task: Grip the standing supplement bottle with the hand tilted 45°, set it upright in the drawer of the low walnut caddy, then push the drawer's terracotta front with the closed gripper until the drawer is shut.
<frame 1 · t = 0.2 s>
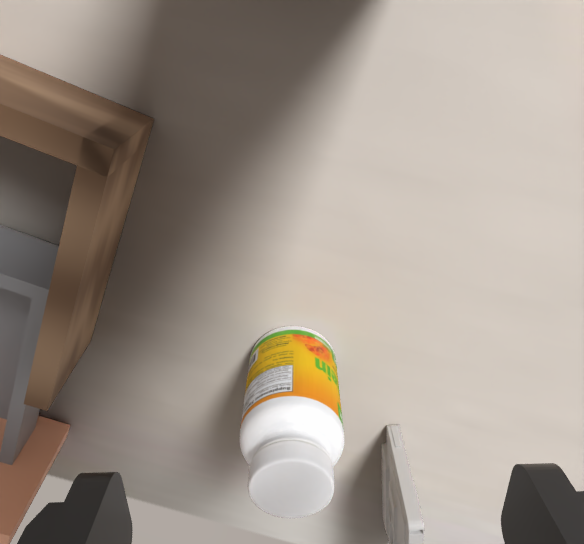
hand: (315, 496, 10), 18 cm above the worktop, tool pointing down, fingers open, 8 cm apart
cassette: (392, 479, 37), on the worktop
supplement bottle: (292, 356, 31), on the worktop
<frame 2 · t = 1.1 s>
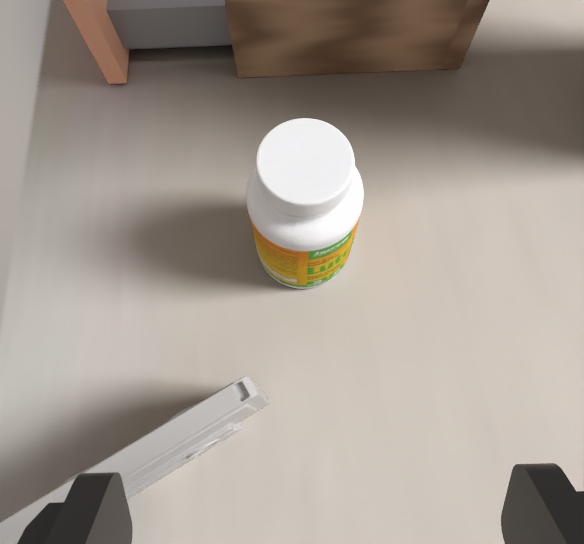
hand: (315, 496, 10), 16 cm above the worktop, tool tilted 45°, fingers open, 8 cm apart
cassette: (167, 457, 26), on the worktop
supplement bottle: (303, 247, 29), on the worktop
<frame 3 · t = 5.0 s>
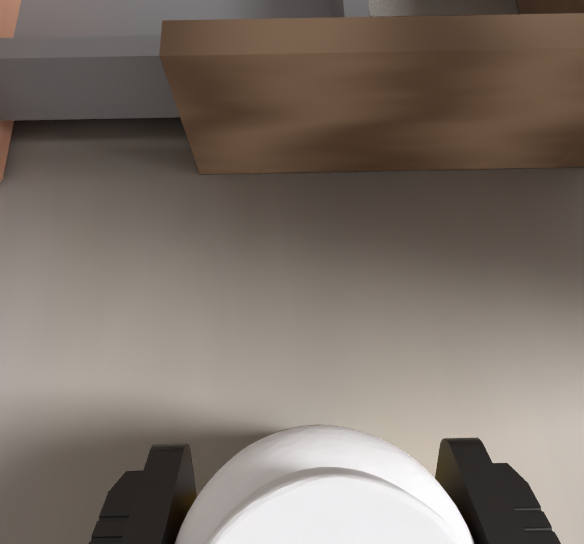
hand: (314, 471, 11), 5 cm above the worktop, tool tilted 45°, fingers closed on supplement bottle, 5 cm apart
supplement bottle: (309, 527, 15), on the worktop, touching gripper
caddy: (343, 28, 21), on the worktop
when the fingers open (7 cm above the worktop, at t = 10.2 s): supplement bottle drops 1 cm, resting on drawer.
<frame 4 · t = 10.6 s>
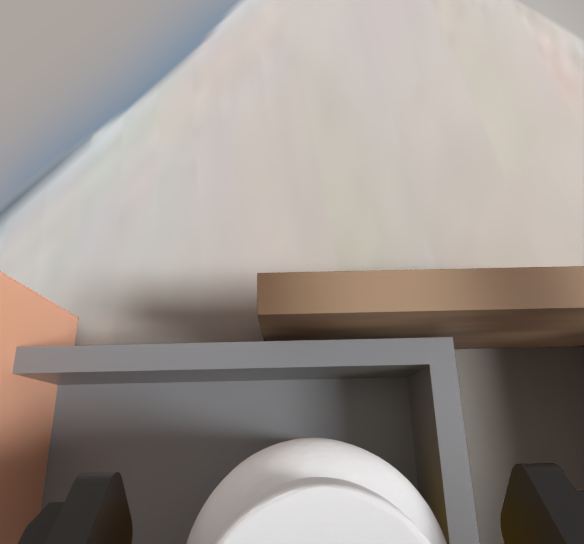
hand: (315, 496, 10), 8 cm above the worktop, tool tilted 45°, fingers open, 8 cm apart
supplement bottle: (306, 527, 16), point 1 cm above the worktop, touching drawer
caddy: (434, 511, 17), on the worktop
drawer: (209, 538, 13), point 4 cm above the worktop, slide at 7.2 cm, touching supplement bottle
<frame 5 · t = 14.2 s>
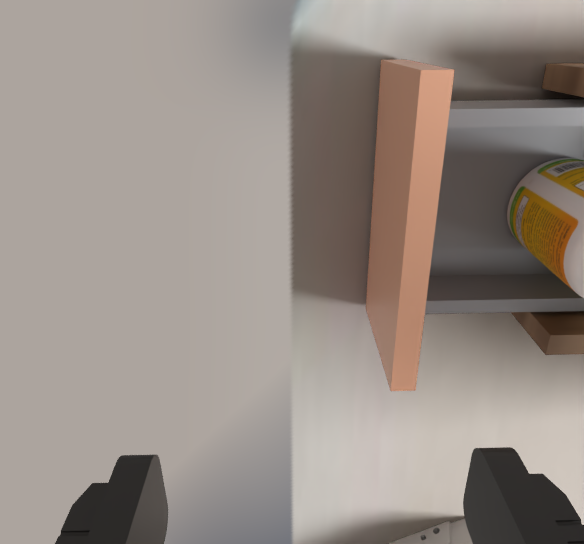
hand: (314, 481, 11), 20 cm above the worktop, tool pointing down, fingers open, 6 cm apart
cassette: (406, 540, 42), on the worktop
supplement bottle: (551, 203, 27), point 1 cm above the worktop, touching drawer
drawer: (530, 219, 24), point 4 cm above the worktop, slide at 7.2 cm, touching supplement bottle
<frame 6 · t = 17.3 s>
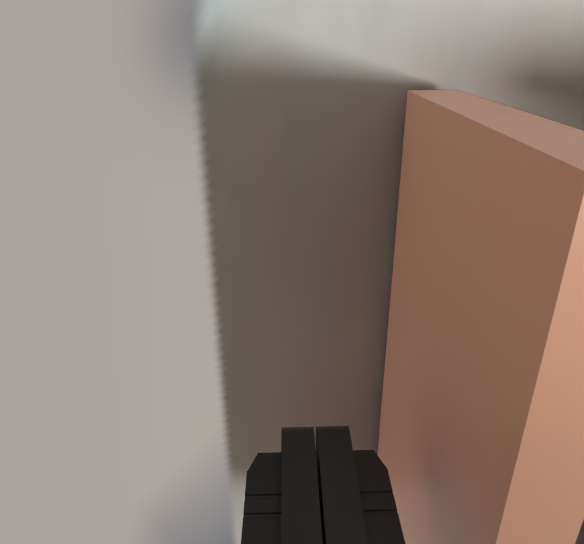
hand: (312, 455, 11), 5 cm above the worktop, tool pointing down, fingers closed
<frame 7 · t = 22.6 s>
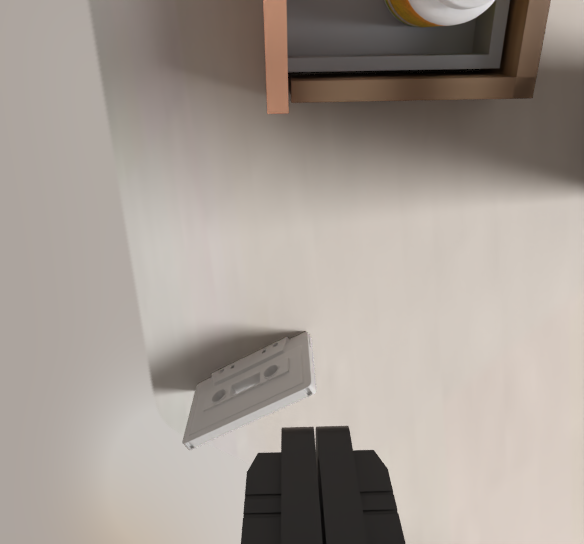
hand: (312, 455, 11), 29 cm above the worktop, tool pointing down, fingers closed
cassette: (253, 359, 46), on the worktop
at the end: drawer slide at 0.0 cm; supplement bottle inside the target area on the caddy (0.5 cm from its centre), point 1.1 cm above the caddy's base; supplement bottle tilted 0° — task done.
